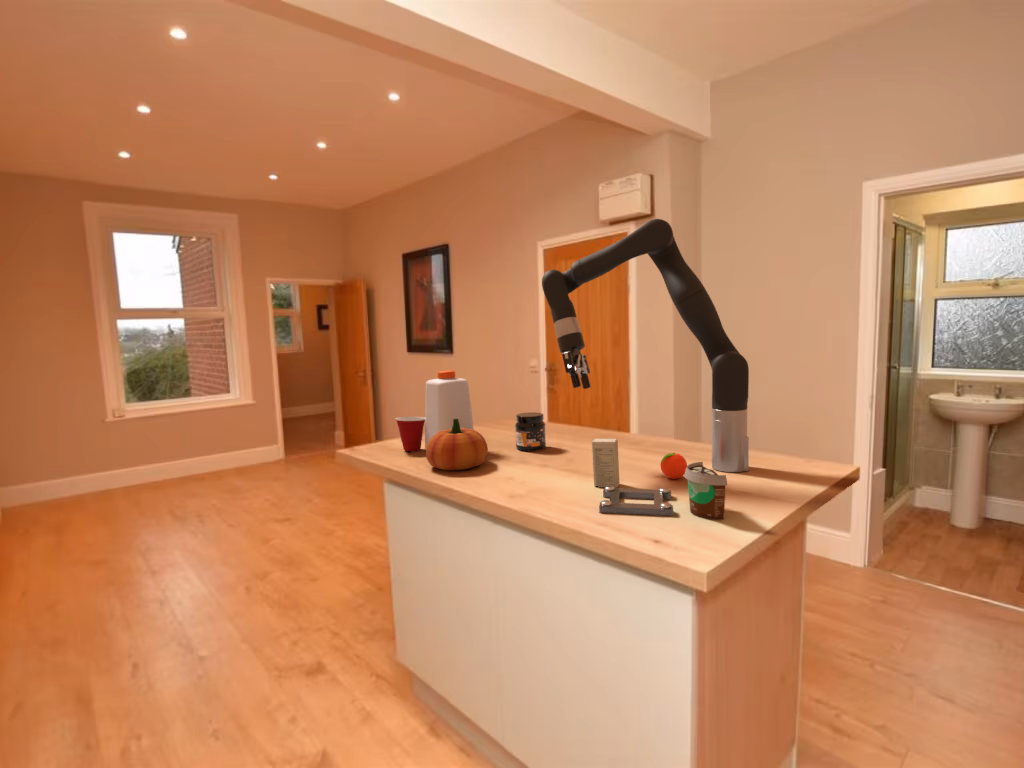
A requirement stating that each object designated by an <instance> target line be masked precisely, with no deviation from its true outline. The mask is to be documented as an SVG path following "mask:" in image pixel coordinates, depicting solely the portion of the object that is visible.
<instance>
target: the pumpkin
mask: <svg viewBox="0 0 1024 768" xmlns="http://www.w3.org/2000/svg"><path fill="white" fill-rule="evenodd" d="M488 448H489V447H488V443H487V441H486V439H485V437H484V436H483V434H481V433H480V432H479V431H478V430H475V429H474V430H473V429H467V428H460V425H459V421H458V419H453V427H452V428H451V429H447V430H442V431H440V432H438V433H437V434H435V435H434V436H433V437H432V438H431V439H430V441H429V442H428V444H427V448H426V449H425V457H426V460H427V462H428V463H429V465H430V466H431V467H433V468H436V469H441V470H445V471H463V470H468V469H472V468H475V467H477V466H479V465H480V466H481V465H482V463H484V461H485V460H486V458H487V455H488V452H489V451H488V450H489V449H488Z"/></svg>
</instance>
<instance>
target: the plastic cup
mask: <svg viewBox="0 0 1024 768" xmlns="http://www.w3.org/2000/svg"><path fill="white" fill-rule="evenodd" d="M394 420H396V424H397V428H398V432H399V435H400V440H401V443H402V447H403V450H405V451H415V452H418V451H417V450H419V451H420V450H421V448H422V441H423V431H424V426H425V416H400V417H395V419H394ZM405 451H404V452H405Z"/></svg>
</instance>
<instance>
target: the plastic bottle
mask: <svg viewBox="0 0 1024 768" xmlns="http://www.w3.org/2000/svg"><path fill="white" fill-rule="evenodd" d="M424 415H425V416H424V417H425V422H424V426H425V428H424V430H425V431H424V432H425V435H424V436H425V437H424V443H425V444H424V448H425V450H426V448H427V444H428V442H429V441H430V439H431V438H432V437H433V436H434V435H435V434H437V433H438V432H440V431H442V430H447V429H451V428H452V427H453V419H458V421H459V425H460V428H467V429H473V430H475V429H474V420H473V413H472V403H471V395H470V387H469V381H468V380H467V379H466V378H460V377H456V371H455V370H440V371H438V372H437V378H433V379H429V380H427V381H426V382H425V414H424Z"/></svg>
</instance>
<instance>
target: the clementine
mask: <svg viewBox="0 0 1024 768" xmlns="http://www.w3.org/2000/svg"><path fill="white" fill-rule="evenodd" d="M659 466H660V470H661V472H662V474H663V475H664V476H665V477H667V478H668V479H672V480H677V479H680V478H682V477H683V476H684V475H685V470H686V468H687V466H688V463H687V460H686V459H685V457H684V456H683V455H681V454H679V453H676V452H670V453H667V454H666V455H664V456H663V458H662V459H661V461H660V465H659Z"/></svg>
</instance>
